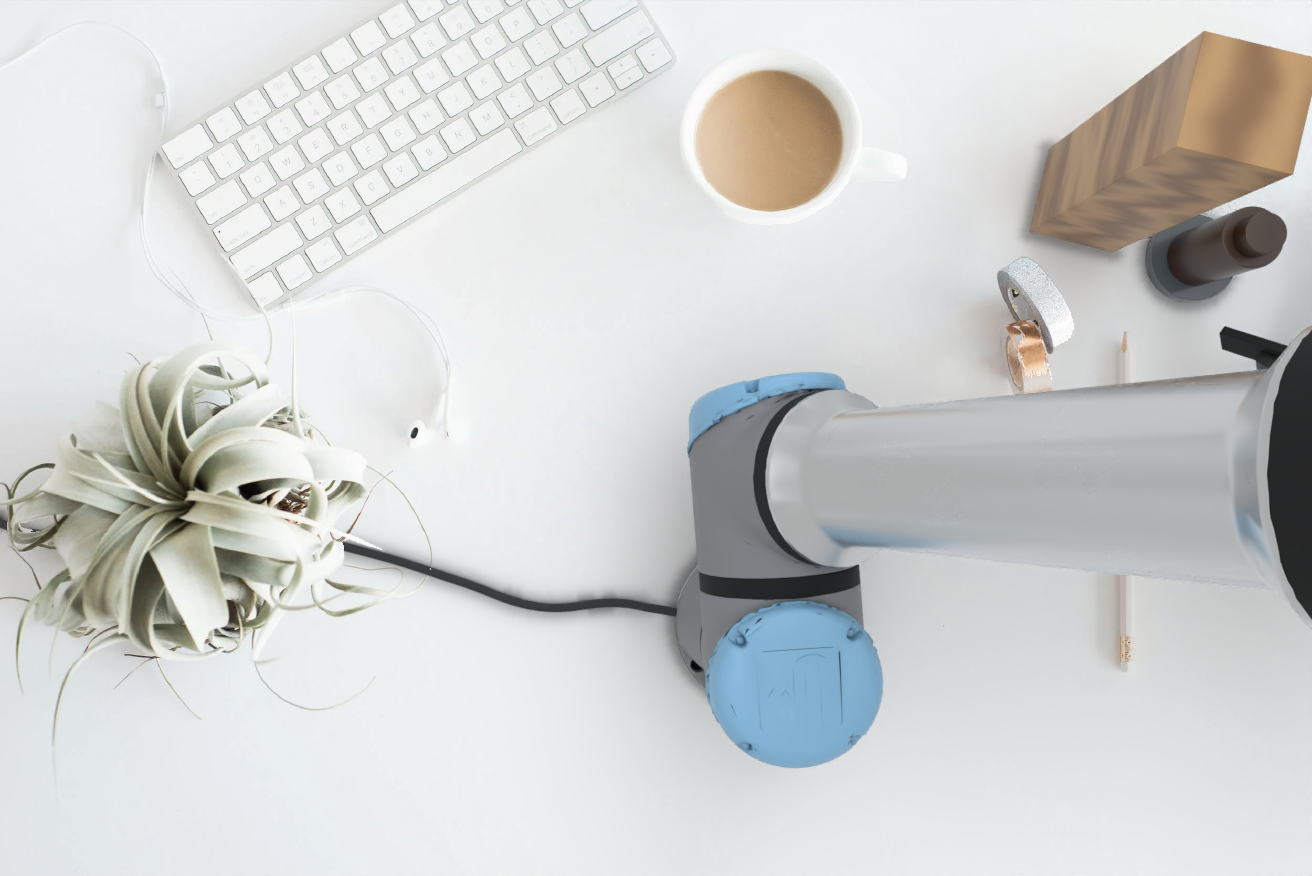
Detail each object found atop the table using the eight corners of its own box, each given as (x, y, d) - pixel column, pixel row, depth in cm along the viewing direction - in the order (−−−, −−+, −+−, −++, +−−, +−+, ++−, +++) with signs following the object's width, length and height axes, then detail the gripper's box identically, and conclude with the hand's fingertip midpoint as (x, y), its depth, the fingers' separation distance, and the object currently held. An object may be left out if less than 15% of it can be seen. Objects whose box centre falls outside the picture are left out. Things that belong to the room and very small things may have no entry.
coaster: (1136, 291, 77) (1141, 289, 76) (1156, 207, 77) (1161, 205, 77) (1220, 311, 77) (1226, 310, 76) (1240, 228, 77) (1246, 225, 76)
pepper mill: (1160, 278, 76) (1228, 256, 67) (1174, 223, 77) (1242, 194, 68) (1216, 291, 76) (1290, 271, 67) (1229, 237, 76) (1305, 209, 68)
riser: (1028, 231, 77) (1176, 146, 55) (1049, 148, 77) (1204, 30, 55) (1112, 252, 77) (1293, 174, 55) (1132, 168, 77) (1321, 58, 55)
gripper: (1492, 530, 59) (1188, 410, 74) (1704, 251, 59) (1357, 188, 74) (1509, 488, 54) (1177, 368, 69) (1741, 181, 54) (1360, 129, 69)
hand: (1270, 274), depth 71 cm, fingers open, 13 cm apart
